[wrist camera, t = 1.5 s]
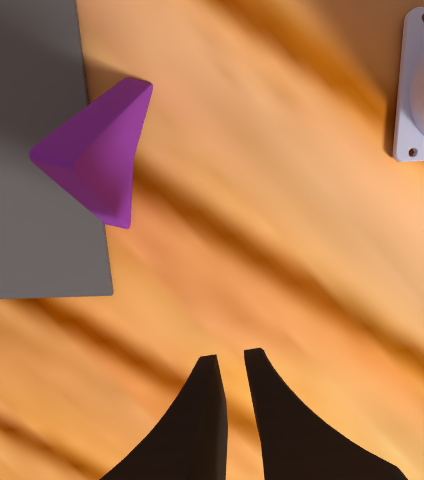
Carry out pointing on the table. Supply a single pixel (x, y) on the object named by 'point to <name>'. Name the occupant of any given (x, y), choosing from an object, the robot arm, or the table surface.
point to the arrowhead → (99, 151)
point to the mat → (27, 173)
